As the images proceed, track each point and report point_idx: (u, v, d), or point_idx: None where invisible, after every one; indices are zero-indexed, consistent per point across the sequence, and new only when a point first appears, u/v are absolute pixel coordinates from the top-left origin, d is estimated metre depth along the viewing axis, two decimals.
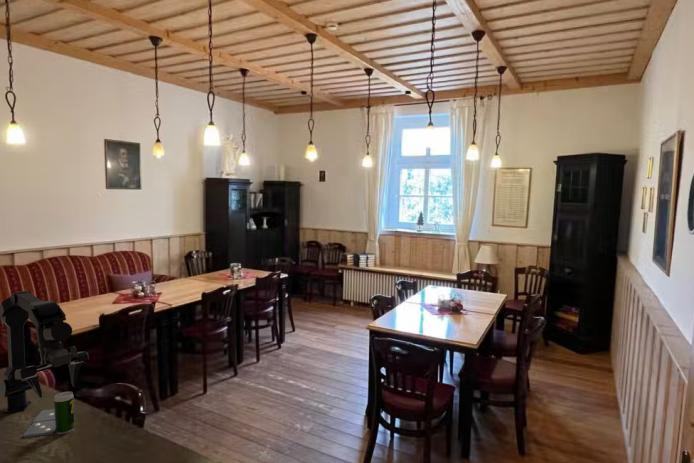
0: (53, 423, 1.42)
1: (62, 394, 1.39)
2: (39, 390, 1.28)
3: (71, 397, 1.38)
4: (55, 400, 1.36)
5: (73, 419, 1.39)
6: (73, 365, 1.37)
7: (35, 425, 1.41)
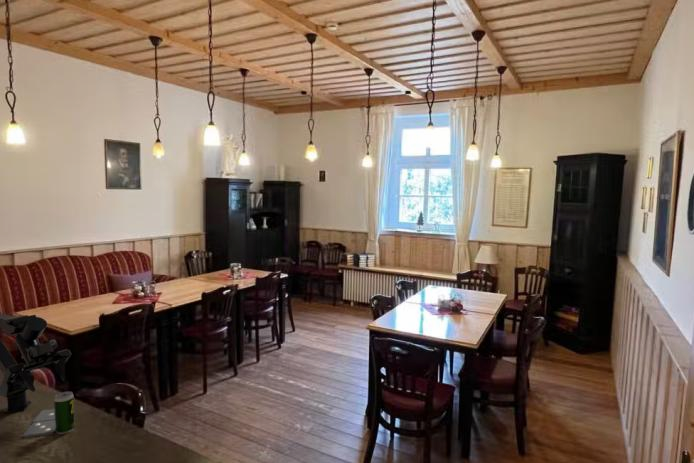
0: (53, 423, 1.42)
1: (62, 394, 1.39)
2: (30, 384, 1.38)
3: (71, 397, 1.38)
4: (55, 400, 1.36)
5: (73, 419, 1.39)
6: (58, 362, 1.48)
7: (35, 425, 1.41)
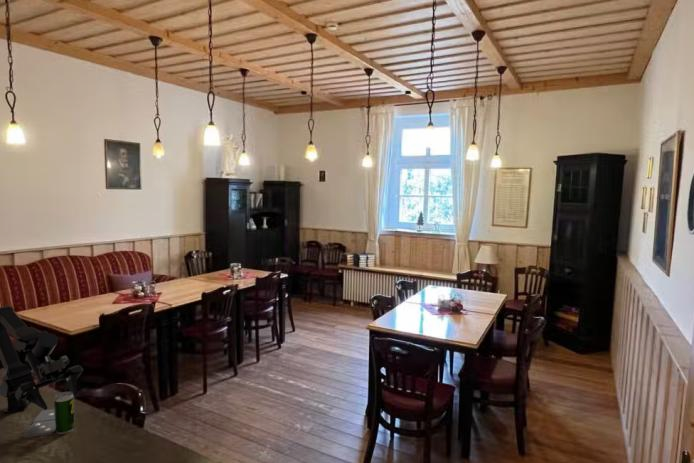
0: (53, 423, 1.42)
1: (62, 394, 1.39)
2: (42, 402, 1.35)
3: (71, 397, 1.38)
4: (55, 400, 1.36)
5: (73, 419, 1.39)
6: (70, 378, 1.45)
7: (35, 425, 1.41)
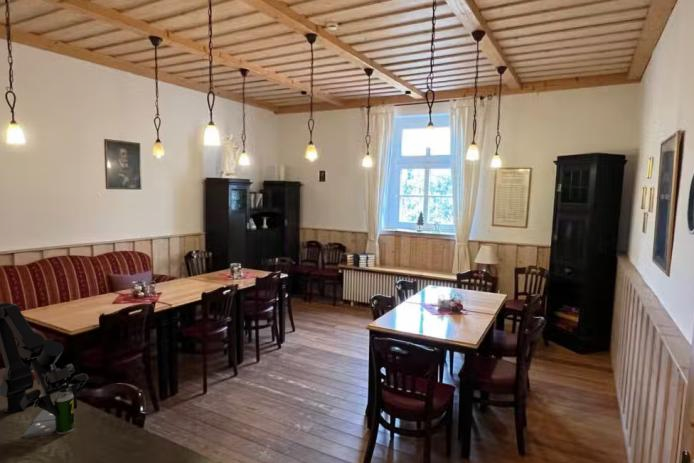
0: (53, 423, 1.42)
1: (62, 394, 1.39)
2: (54, 408, 1.36)
3: (71, 397, 1.38)
4: (55, 400, 1.36)
5: (73, 419, 1.39)
6: (69, 389, 1.43)
7: (35, 425, 1.41)
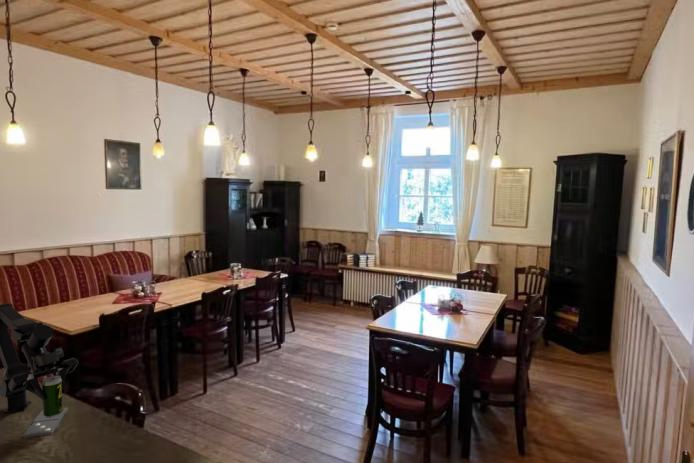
0: (53, 423, 1.42)
1: (50, 378, 1.39)
2: (41, 392, 1.35)
3: (59, 381, 1.38)
4: (43, 384, 1.36)
5: (61, 403, 1.39)
6: (59, 373, 1.42)
7: (35, 425, 1.41)
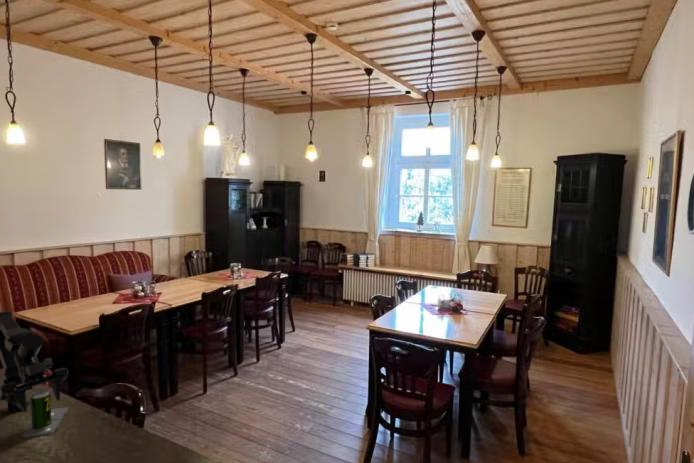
0: (53, 423, 1.42)
1: (39, 391, 1.39)
2: (22, 404, 1.35)
3: (47, 394, 1.39)
4: (31, 396, 1.37)
5: (49, 416, 1.39)
6: (54, 381, 1.44)
7: None
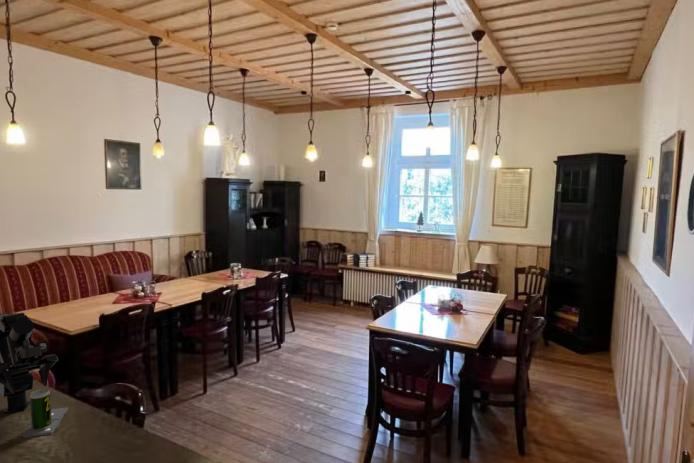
0: (53, 423, 1.42)
1: (39, 391, 1.39)
2: (12, 385, 1.37)
3: (46, 394, 1.39)
4: (30, 396, 1.37)
5: (49, 416, 1.39)
6: (43, 366, 1.48)
7: None
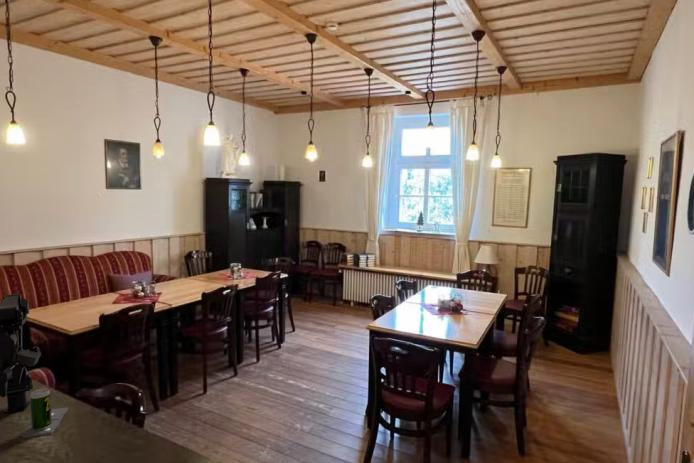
0: (53, 423, 1.42)
1: (39, 391, 1.39)
2: (6, 390, 1.36)
3: (46, 394, 1.39)
4: (30, 396, 1.37)
5: (49, 416, 1.39)
6: (20, 365, 1.46)
7: None
